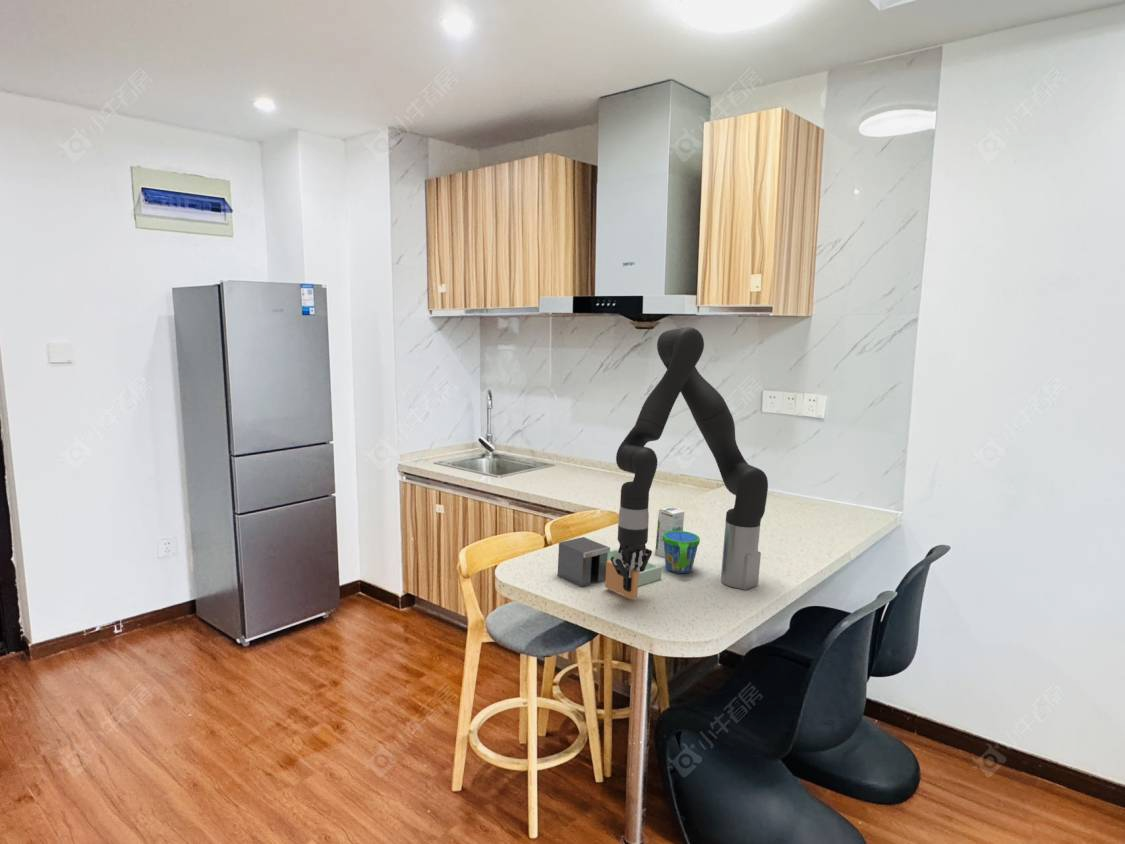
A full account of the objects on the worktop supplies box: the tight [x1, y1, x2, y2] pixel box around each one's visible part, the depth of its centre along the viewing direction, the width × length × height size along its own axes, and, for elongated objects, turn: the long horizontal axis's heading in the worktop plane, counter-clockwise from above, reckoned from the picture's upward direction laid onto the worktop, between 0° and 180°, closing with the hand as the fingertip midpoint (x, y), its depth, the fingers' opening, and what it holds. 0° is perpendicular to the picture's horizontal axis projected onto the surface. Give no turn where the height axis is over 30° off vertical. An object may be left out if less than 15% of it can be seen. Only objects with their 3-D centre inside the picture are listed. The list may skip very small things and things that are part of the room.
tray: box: [607, 548, 663, 587], centre depth 188 cm, size 18×12×4 cm, turn 40°
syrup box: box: [654, 506, 685, 558], centre depth 204 cm, size 6×6×14 cm
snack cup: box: [663, 530, 701, 574], centre depth 193 cm, size 16×10×10 cm
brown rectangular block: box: [604, 560, 639, 600], centre depth 172 cm, size 10×2×7 cm, turn 41°
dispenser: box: [557, 536, 611, 588], centre depth 183 cm, size 11×9×10 cm
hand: (630, 589), depth 170 cm, fingers closed on brown rectangular block, 1 cm apart
